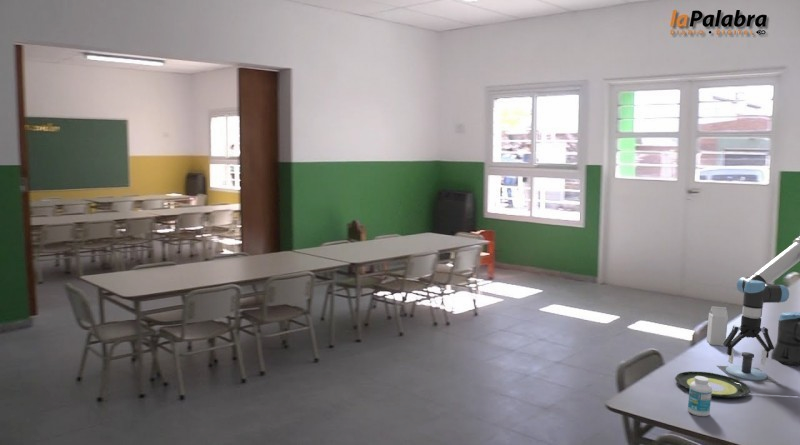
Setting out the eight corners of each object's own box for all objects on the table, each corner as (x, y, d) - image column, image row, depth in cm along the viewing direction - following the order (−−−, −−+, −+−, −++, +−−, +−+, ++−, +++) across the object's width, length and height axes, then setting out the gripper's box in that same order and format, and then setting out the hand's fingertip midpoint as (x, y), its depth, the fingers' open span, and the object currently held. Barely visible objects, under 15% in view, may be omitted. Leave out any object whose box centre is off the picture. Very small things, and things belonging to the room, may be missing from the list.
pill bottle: (683, 408, 242) (686, 374, 240) (702, 408, 242) (705, 374, 241) (694, 417, 234) (697, 381, 233) (713, 417, 235) (716, 381, 233)
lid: (756, 368, 287) (758, 349, 286) (774, 381, 271) (776, 361, 270) (719, 366, 289) (721, 347, 287) (734, 379, 273) (736, 359, 272)
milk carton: (725, 346, 321) (728, 309, 319) (710, 345, 322) (713, 308, 320) (721, 342, 328) (724, 305, 326) (706, 340, 329) (709, 304, 327)
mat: (757, 369, 288) (757, 367, 288) (777, 383, 270) (777, 382, 270) (716, 366, 290) (716, 365, 290) (733, 381, 272) (733, 380, 272)
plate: (719, 407, 245) (720, 400, 245) (659, 382, 270) (660, 376, 269) (765, 395, 258) (765, 389, 258) (704, 372, 283) (704, 367, 282)
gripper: (777, 315, 279) (772, 362, 282) (718, 312, 282) (713, 358, 284) (786, 320, 272) (780, 368, 275) (725, 316, 274) (720, 364, 277)
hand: (746, 363), depth 279 cm, fingers open, 13 cm apart
